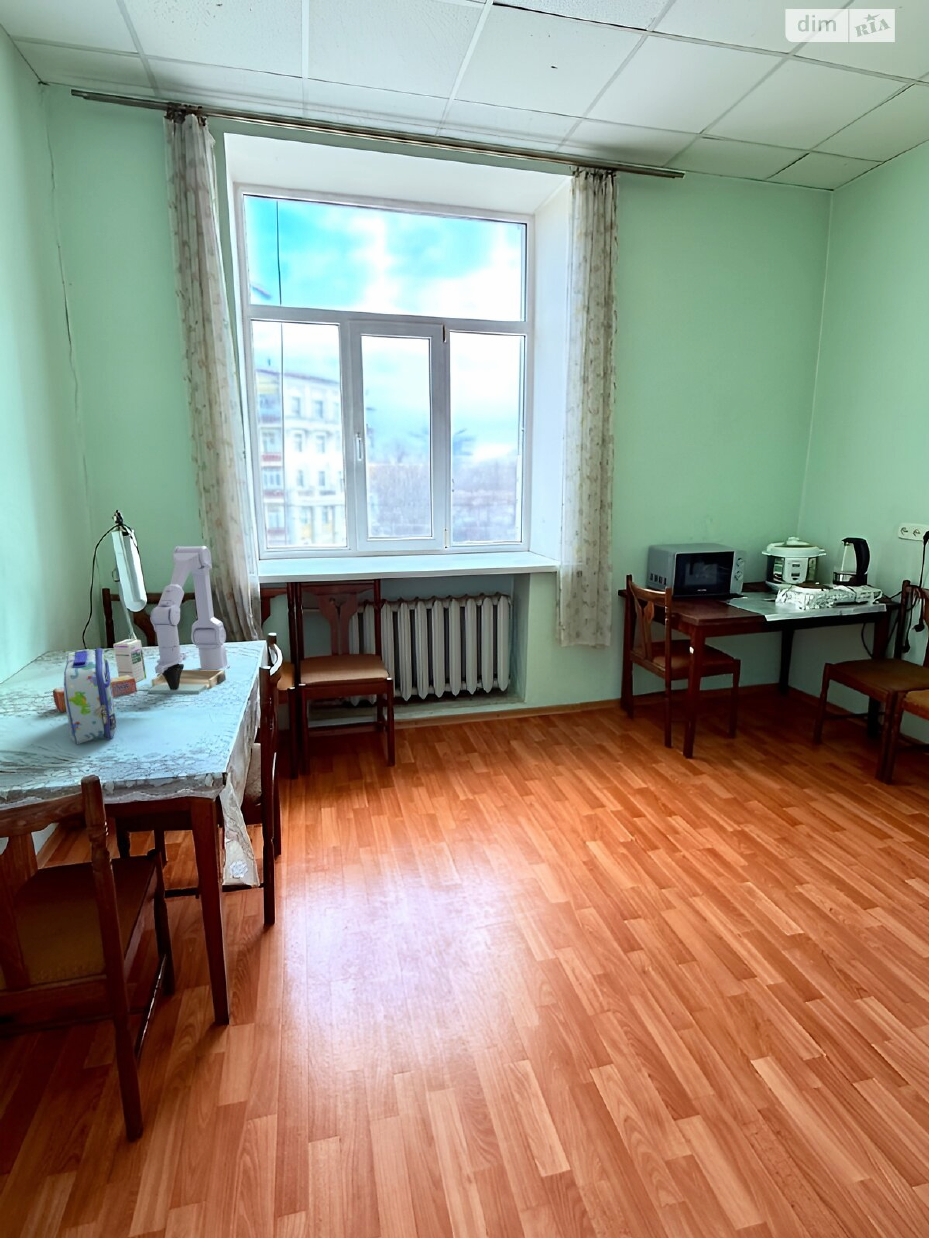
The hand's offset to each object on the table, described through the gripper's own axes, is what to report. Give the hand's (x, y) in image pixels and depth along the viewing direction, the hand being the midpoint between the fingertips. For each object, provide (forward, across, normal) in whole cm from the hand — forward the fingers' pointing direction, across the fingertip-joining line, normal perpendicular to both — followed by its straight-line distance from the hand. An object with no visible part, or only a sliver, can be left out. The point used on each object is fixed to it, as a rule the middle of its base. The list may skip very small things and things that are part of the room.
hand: (174, 688), depth 196 cm
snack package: (+3, +4, -22) cm, 23 cm away
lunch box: (+3, +26, -9) cm, 27 cm away
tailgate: (+1, -4, 0) cm, 5 cm away
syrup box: (+3, -12, -20) cm, 23 cm away
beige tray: (+3, -10, 0) cm, 10 cm away
